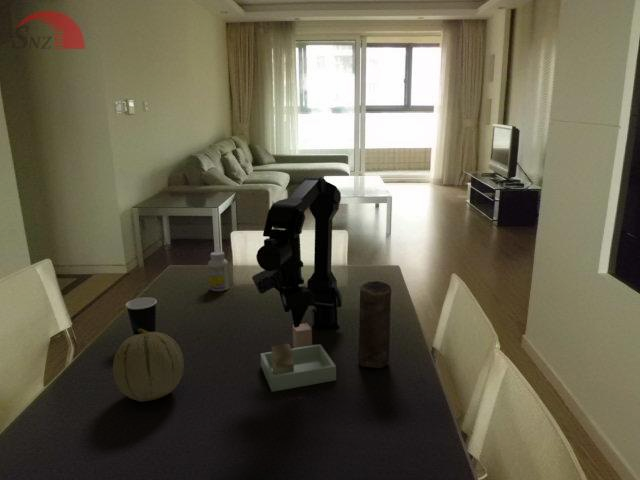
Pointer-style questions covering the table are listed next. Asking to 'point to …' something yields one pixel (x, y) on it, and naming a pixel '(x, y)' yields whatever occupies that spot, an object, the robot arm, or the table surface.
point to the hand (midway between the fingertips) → (291, 319)
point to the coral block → (302, 335)
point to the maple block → (282, 359)
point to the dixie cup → (142, 314)
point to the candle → (374, 324)
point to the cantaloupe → (148, 366)
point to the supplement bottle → (218, 272)
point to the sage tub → (300, 368)
